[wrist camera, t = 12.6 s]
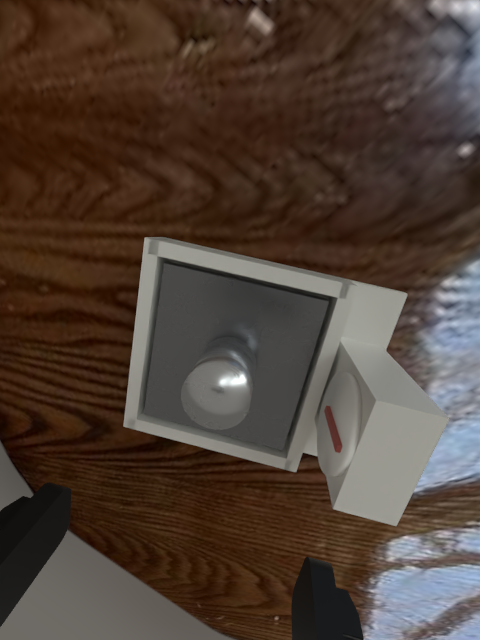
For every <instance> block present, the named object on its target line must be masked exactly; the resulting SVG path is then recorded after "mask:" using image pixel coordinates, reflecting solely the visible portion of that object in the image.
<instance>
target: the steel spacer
mask: <svg viewBox="0 0 480 640" xmlns="http://www.w3.org/2000/svg"><path fill="white" fill-rule="evenodd" d="M255 370H256V358H255V355H254V353H253V351H252V349H251V348H250V347H249V346H248V345H247V344H246V343H245V342H243V341H242V340H240V339H237V338H234V337H221V338H217V339H215V340H213V341H212V342H210V343H209V344H208V345H207V346H206V348H205V350H204V351H203V353H202V354H201V356H200V358H199V359H198V361H197V363H196V364H195V366H194V367H193V369H192V371H191V372H190V374H189V375H188V377H187V379H186V380H185V382H184V384H183V386H182V390H181V402H182V405H183V408H184V410H185V412H186V413H187V415H188V416H189V417H190V418H191V419H192V420H193V421H195V422H196V423H197V424H199V425H201V426H203V427H206V428H209V429H214V430H224V429H229V428H232V427H234V426H236V425H238V424H239V423H240V422H241V421H242V420H243V419H244V418H245V417H246V415H247V413H248V411H249V408H250V402H251V396H252V389H253V383H254V376H255Z"/></svg>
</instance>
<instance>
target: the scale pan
mask: <svg viewBox="0 0 480 640" xmlns="http://www.w3.org/2000/svg"><path fill="white" fill-rule="evenodd" d="M328 303H329V301H328V300H327V298H323V297H318V296H314V295H310V294H305V293H301V292H297V291H292V290H288V289H284V288H280V287H275V286H271V285H267V284H262V283H258V282H254V281H249V280H245V279H241V278H237V277H232V276H228V275H224V274H219V273H215V272H211V271H206V270H202V269H198V268H193V267H189V266H185V265H181V264H176V263H172V262H167V263H164V268H163V275H162V283H161V290H160V297H159V305H158V312H157V319H156V327H155V334H154V342H153V349H152V356H151V364H150V371H149V379H148V386H147V393H146V401H145V408H144V414H145V415H149V416H153V417H157V418H161V419H164V420H168V421H172V422H176V423H180V424H184V425H187V426H191V427H195V428H199V429H203V430H206V431H210V432H214V433H218V434H222V435H226V436H229V437H233V438H237V439H241V440H245V441H248V442H252V443H256V444H260V445H264V446H268V447H271V448H275V449H279V450H283V448H284V445H285V442H286V439H287V435H288V432H289V429H290V426H291V422H292V419H293V416H294V413H295V410H296V406H297V403H298V400H299V397H300V393H301V390H302V387H303V384H304V381H305V377H306V374H307V371H308V368H309V364H310V361H311V358H312V355H313V352H314V348H315V345H316V342H317V339H318V335H319V332H320V329H321V326H322V323H323V319H324V316H325V313H326V310H327V307H328ZM221 337H234V338H237V339H240V340H242V341H243V342H245V343H246V344H247V345H248V346H249V347H250V348H251V349H252V351H253V353H254V355H255V358H256V370H255V376H254V383H253V389H252V396H251V402H250V408H249V411H248V413H247V415H246V417H245V418H244V419H243V420H242V421H241V422H240V423H239V424H238V425H236V426H234V427H232V428H229V429H224V430H214V429H209V428H206V427H203V426H201V425H199V424H197V423H196V422H195V421H193V420H192V419H191V418H190V417H189V416H188V415H187V413H186V412H185V410H184V408H183V405H182V402H181V390H182V386H183V384H184V382H185V380H186V379H187V377H188V375H189V374H190V372H191V371H192V369H193V367H194V366H195V364H196V363H197V361H198V359H199V358H200V356H201V354H202V353H203V351H204V350H205V348H206V346H207V345H208V344H209V343H210V342H212V341H213V340H215V339H217V338H221Z"/></svg>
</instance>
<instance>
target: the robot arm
mask: <svg viewBox="0 0 480 640" xmlns="http://www.w3.org/2000/svg"><path fill="white" fill-rule="evenodd" d="M70 507H71V489H70V488H67V487H63V486H60V485H56V484H53V483H46V484H44V485H43V486H42V487H41V488H40V489H39V490H38V491H37V492H36V493H35V494H34V495H33V496H32V497H31V498H28V497H24V496H23V497H21V498H19V499H18V500H16V501H14V502H13V503H11V504H10V505H8V506H6V507H5V508H3V509H2V510H1V511H0V627H1V626H2V624H3V623H4V621H5V620H6V618H7V617H8V616H9V614H10V613H11V611H12V610H13V609H14V607H15V606H16V604H17V603H18V602H19V600H20V599H21V597H22V596H23V595H24V593H25V592H26V590H27V589H28V587H29V586H30V585H31V583H32V582H33V581H34V579H35V578H36V576H37V575H38V573H39V572H40V571H41V569H42V568H43V566H44V565H45V564H46V562H47V561H48V559H49V558H50V557H51V555H52V554H53V552H54V551H55V550H56V548H57V547H58V545H59V544H60V542H61V541H62V539H63V538H64V536H65V533H66V531H67V529H68V526H69V523H70ZM292 640H363V634H362V629H361V624H360V619H359V614H358V612H357V610H356V608H355V606H354V604H353V602H352V600H351V598H350V595H349V593H348V591H346V590H343V589H339V588H336V585H335V579H334V573H333V568H332V565H331V564H330V563H328V562H324V561H321V560H317V559H313V558H310V557H306V558H305V560H304V563H303V566H302V568H301V571H300V574H299V576H298V579H297V581H296V584H295V587H294V591H293V597H292Z"/></svg>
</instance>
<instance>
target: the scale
mask: <svg viewBox="0 0 480 640" xmlns="http://www.w3.org/2000/svg"><path fill="white" fill-rule="evenodd" d="M167 262H172V263H176V264H181V265H185V266H189V267H193V268H198V269H202V270H206V271H211V272H215V273H219V274H224V275H228V276H232V277H237V278H241V279H245V280H249V281H254V282H258V283H262V284H267V285H271V286H275V287H280V288H284V289H288V290H292V291H297V292H301V293H305V294H310V295H314V296H318V297H323V298H327V300H328V301H329V303H328V307H327V310H326V313H325V316H324V319H323V323H322V326H321V329H320V332H319V335H318V339H317V342H316V345H315V348H314V352H313V355H312V358H311V361H310V364H309V368H308V371H307V374H306V377H305V381H304V384H303V387H302V390H301V393H300V397H299V400H298V403H297V406H296V410H295V413H294V416H293V419H292V422H291V426H290V429H289V432H288V435H287V439H286V442H285V445H284V448H283V450H279V449H275V448H271V447H268V446H264V445H260V444H256V443H252V442H248V441H245V440H241V439H237V438H233V437H229V436H226V435H222V434H218V433H214V432H210V431H206V430H203V429H199V428H195V427H191V426H187V425H184V424H180V423H176V422H172V421H168V420H164V419H161V418H157V417H153V416H149V415H145V414H144V408H145V401H146V393H147V386H148V379H149V371H150V364H151V356H152V349H153V342H154V334H155V327H156V319H157V312H158V305H159V297H160V290H161V283H162V275H163V268H164V263H167ZM407 295H408V294H407V293H405V292H402V291H397V290H393V289H389V288H384V287H380V286H375V285H371V284H367V283H362V282H358V281H354V280H349V279H345V278H340V277H336V276H332V275H327V274H323V273H318V272H314V271H310V270H305V269H301V268H297V267H292V266H288V265H283V264H279V263H275V262H270V261H266V260H261V259H257V258H253V257H248V256H244V255H240V254H235V253H231V252H226V251H222V250H218V249H213V248H209V247H205V246H200V245H196V244H191V243H187V242H183V241H178V240H174V239H169V238H165V237H145V240H144V248H143V257H142V266H141V275H140V284H139V293H138V301H137V310H136V319H135V328H134V337H133V346H132V354H131V363H130V372H129V381H128V390H127V399H126V407H125V416H124V425H123V427H127V428H131V429H134V430H138V431H142V432H146V433H149V434H153V435H157V436H161V437H164V438H168V439H172V440H176V441H180V442H183V443H187V444H191V445H195V446H198V447H202V448H206V449H210V450H213V451H217V452H221V453H225V454H229V455H232V456H236V457H240V458H244V459H247V460H251V461H255V462H259V463H262V464H266V465H270V466H274V467H278V468H281V469H285V470H289V471H293V472H296V471H297V468H298V465H299V462H300V459H301V456H302V453H307V454H310V455H314V456H318V461H319V465H320V468H321V470H322V472H323V473H324V474H326V478H327V483H328V488H329V493H330V498H331V503H332V508H333V509H335V510H338V511H342V512H346V513H349V514H353V515H357V516H360V517H364V518H368V519H372V520H375V521H379V522H383V523H386V524H390V525H394V526H397V524H398V522H399V520H400V518H401V516H402V514H403V512H404V510H405V508H406V506H407V504H408V502H409V500H410V498H411V496H412V494H413V492H414V490H415V488H416V486H417V484H418V481H419V479H420V477H421V475H422V473H423V471H424V469H425V467H426V465H427V463H428V461H429V459H430V457H431V455H432V453H433V451H434V449H435V447H436V445H437V443H438V441H439V439H440V437H441V435H442V433H443V431H444V429H445V427H446V425H447V423H448V421H449V419H450V418H449V417H448V416H447V415H446V414H445V413H444V412H443V411H442V410H441V409H440V408H439V407H438V406H437V404H436V403H435V402H434V401H433V400H432V399H431V398H430V397H429V396H428V395H427V394H426V393H425V392H424V391H423V390H422V389H421V388H420V386H419V385H418V384H417V383H416V382H415V381H414V380H413V379H412V378H411V377H410V376H409V375H408V374H407V373H406V372H405V371H404V370H403V368H402V367H401V366H400V365H399V364H398V363H397V362H396V361H395V360H394V359H393V358H392V357H391V356H390V355H389V354H388V353H387V352H386V349H387V346H388V344H389V341H390V339H391V336H392V334H393V331H394V328H395V326H396V323H397V321H398V318H399V316H400V313H401V310H402V308H403V305H404V303H405V300H406V298H407Z"/></svg>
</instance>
